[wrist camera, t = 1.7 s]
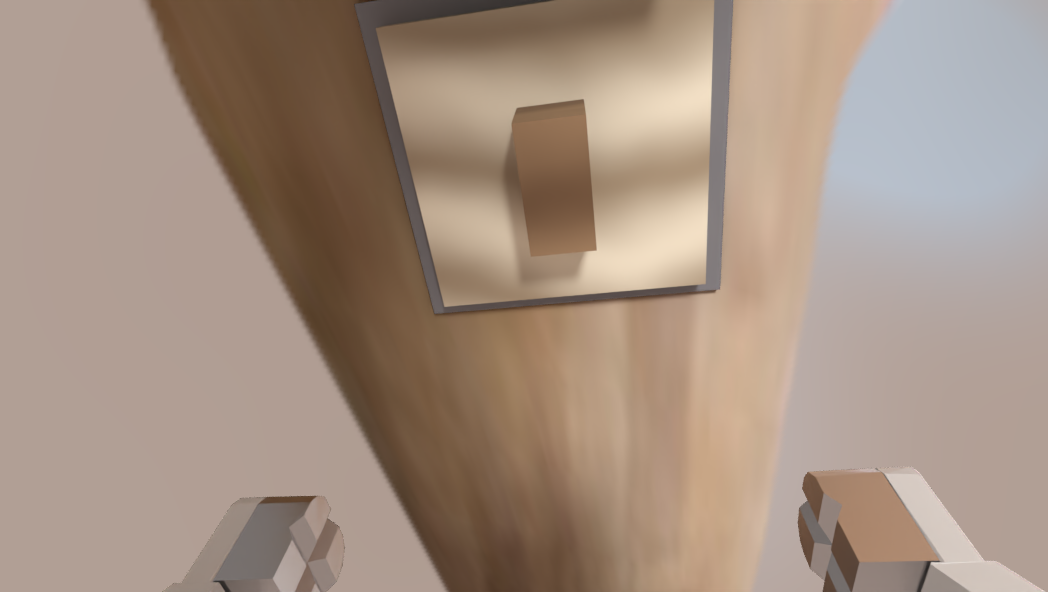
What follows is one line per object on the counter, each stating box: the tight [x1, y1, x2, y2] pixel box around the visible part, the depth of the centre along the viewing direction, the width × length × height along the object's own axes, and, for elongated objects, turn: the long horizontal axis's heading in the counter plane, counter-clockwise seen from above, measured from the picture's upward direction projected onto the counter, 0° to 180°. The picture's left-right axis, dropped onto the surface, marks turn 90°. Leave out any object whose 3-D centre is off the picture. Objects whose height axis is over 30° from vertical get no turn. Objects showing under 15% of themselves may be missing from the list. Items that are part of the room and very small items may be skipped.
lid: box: [376, 0, 714, 307], centre depth 25 cm, size 14×14×4 cm
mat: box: [354, 0, 733, 314], centre depth 27 cm, size 16×16×1 cm
